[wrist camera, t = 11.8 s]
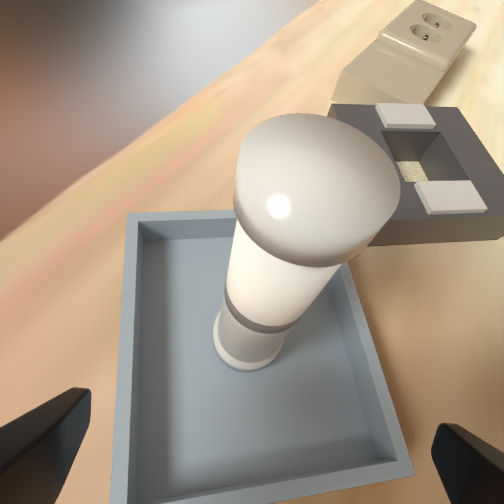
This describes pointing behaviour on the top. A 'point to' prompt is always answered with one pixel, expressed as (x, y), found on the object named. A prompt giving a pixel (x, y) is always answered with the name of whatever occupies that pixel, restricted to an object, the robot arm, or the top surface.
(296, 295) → the light bulb
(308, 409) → the parts tray
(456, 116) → the socket block
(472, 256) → the top surface
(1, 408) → the top surface
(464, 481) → the robot arm
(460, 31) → the electrical outlet
